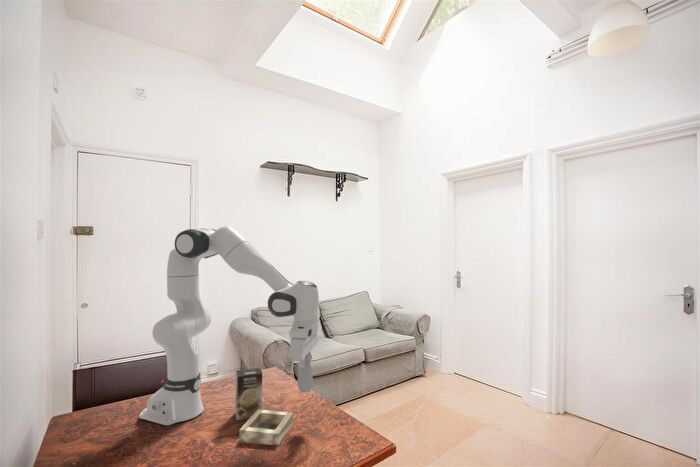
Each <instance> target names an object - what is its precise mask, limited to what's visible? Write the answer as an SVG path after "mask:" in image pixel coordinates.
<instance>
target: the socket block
mask: <svg viewBox="0 0 700 467" xmlns="http://www.w3.org/2000/svg"><path fill="white" fill-rule="evenodd" d="M293 425H294V412H288V411H279V410H277V411H276V410H270V409H269V410H268V409H262V410H260V409H258V410H257V411H256V412H255V413H254V414H253V415H252V416H251V418H248V419H247V421H246V422H245V423H244V424H243V425H242V426H241V428H240V429H239V431H238V432H239V435H238V437H239V441H238V442H239V443H246V444H247V443H248V444H257V445H258V444H259V445H268V446H269V445H270V446H271V445H272V446H279V445H280V444H281V443H282V442H283V440H284V438H285V437H286V436H287V434H288V433H289V431H290V430H291V428H292V426H293Z"/></svg>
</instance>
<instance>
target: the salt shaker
mask: <svg viewBox="0 0 700 467" xmlns="http://www.w3.org/2000/svg"><path fill="white" fill-rule="evenodd" d="M312 360H313V356H312V352H311V353H308V354H307V356H306V358H305V362H306V366H305V368H300V367H299V372H298V376H297V381H296V385H297V388H298V391H300V392H301V393H308V392H311V390H312V388H313V386H314V380H313V372H312V364H311V361H312Z"/></svg>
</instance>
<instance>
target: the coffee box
mask: <svg viewBox="0 0 700 467" xmlns="http://www.w3.org/2000/svg"><path fill="white" fill-rule="evenodd" d="M235 372H236V374H235V375H236V376H235V418H236V419H235V420H236V421H240V420H248V419H250V418H251V416H252V415H253V414H254V413H255V412H256V411H257V410H258V409H260V410H263V409H262V408H263V372H262V369H261V367H257V368H256V367H255V368H247V369H239V370H236V371H235Z"/></svg>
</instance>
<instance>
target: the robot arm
mask: <svg viewBox="0 0 700 467" xmlns="http://www.w3.org/2000/svg"><path fill="white" fill-rule="evenodd" d="M217 255H219V256H220V257H221V258H222V260H223V261H224V262H225V263H226V264H227V265H228V266H229V267H230V268H231V269H232V270H233V271H235V272H237V273H238V274H242V275H247V276H248V275H249V276H253V277H257V278H259V279H261V280H263V281H264V283H265V284H267V285H268V286H269V287H270V288H271V289H272V290H273V291H274V292H273V293H271V294H270V295H269V297H268V299H267V309H268V310H269V312H270V313H271V315H273V316H274V317H277V318H285V317H291V316H292V318H293V323H292V326H291V329H290V330H289V332H288V334H289V335H288V336H289V338H290V342H289V344H290V347H289V348H290V349H289V350H290V359H291V361H293V362H298V363H299V369H300V368H305V366H306V362H305V358H306V356H307V354H308V353H311V354H312V350H314V347H315V346H317V344H318V332H319V314H318V310H319V305H320V300H319V298H320V297H319V289H318V286H317V284H315V283H314V282H311V281H308V280H298V281H297V282H295V283H292V282H290V281H289V280H288V279H286V278H285V277H284V275H282V274H281V272H279V271H278V270H277V269H276V268H275V267H274V266H273V265H272V264H271V263H269V261H268V260H267V259H265V258H264V256H262V254H261V253H260V252H258V250H257V249H256V248H255V246H253V245H252V244H251V242H250V241H248V239H247V238H246V237H245V236H244V235H243V234H241V233H240V232H239V231H237V230H236V229H235V228H233V227H232V226H229V225H224V226H221V227H219V228H217V229H213V228H196V229H194V228H189V229H185V230H183V231H180V232H179V233H178V234H177V235H176V237H175V239H174V248H172V249H171V251H170V252H169V255H168V261H167V268H166V288H167V289H166V290H167V292H166V293H167V295H166V296H167V297H168V299H169V300H170V301H172V302H173V304H174V305H175V308H176V312H175V313H172V314H169V315H166V316H165V317H163V318H161V319H160V320H158V321H157V322H156V323H155V324H154V326H153V328H152V339H153V340H154V342H155V343H156V344H158V345H159V346H160V347H162V348H163V350H164V352H165V355H166V361H167V363H166V364H167V365H166V366H167V376H165V377H164V378H163V379H161V380H160V384H163V383H164V384H163V386H162V387H160V389H158V390H157V391H156V392H154V393H153V394H152V395H151V396H150V397H149V399H148V400H147V404H146V407H145V408H144V409H143V410H142V411H141V412H140V413H139V416H138V417H139V419H142V420H145V421H148V422H149V421H150V422H152V423H156V424H159V425H163V426H170V425H174V424H176V423H180V422H184V421H185V422H186V421H188V420H191V419H193V418H196V417H198V416H199V415H200V414H202V412H204V408H205V407H204V404H203V401H202V397H201V396H202V395H201V389H200V388H201V383H202V382H201V372H200V353H199V351H198V350H196V349H194V348H193V345H192V338H194V337H196V336H198V335H200V334H202V333H203V332H204V331H206V330H207V329H208V328H209V327H210V325H211V322H212V316H211V313H210V311H209V310H208V309H206V308H205V306H204V304H203V302H202V299H201V293H200V276H199V274H200V273H199V264H200V261H201V260H202V259H208V258H211V257H215V256H217Z"/></svg>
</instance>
